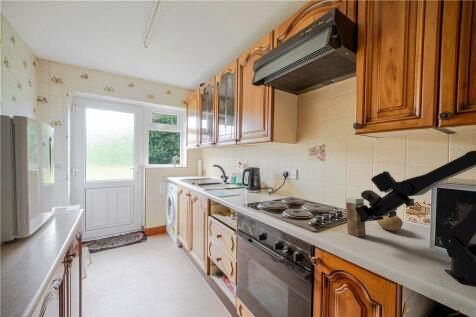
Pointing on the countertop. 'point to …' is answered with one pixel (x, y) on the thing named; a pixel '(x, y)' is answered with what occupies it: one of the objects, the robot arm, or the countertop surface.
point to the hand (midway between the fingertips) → (361, 220)
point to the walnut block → (354, 217)
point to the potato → (390, 223)
